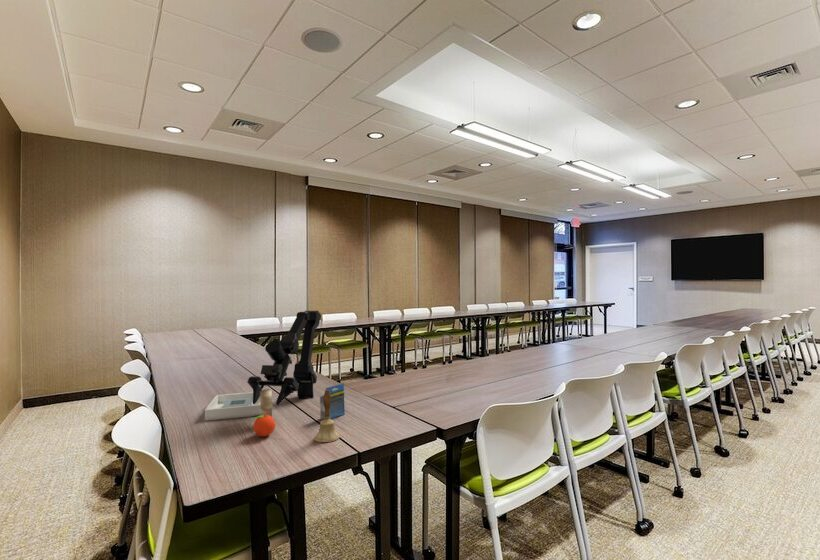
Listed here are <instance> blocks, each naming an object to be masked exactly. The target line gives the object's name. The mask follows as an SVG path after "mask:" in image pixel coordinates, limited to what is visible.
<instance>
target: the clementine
mask: <svg viewBox="0 0 820 560" xmlns="http://www.w3.org/2000/svg"><path fill="white" fill-rule="evenodd" d="M254 420H255V421H254ZM252 421H254V423H253V431H254V433H255V434H256V435H257V436H259V437H267V436H269V435H271V434H272V433H273V432H274V430H275V428H276V421H275V419H274V418H273V416H272V417H271V416H269V415H262V416H261V415H258V416H255V417H254V418H253V419H252V420H251V422H249V423H250V425H251V423H252Z"/></svg>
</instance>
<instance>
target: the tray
mask: <svg viewBox="0 0 820 560" xmlns="http://www.w3.org/2000/svg"><path fill="white" fill-rule="evenodd" d="M258 416H261V412H260V397H259V398H258V400H257V402H256V403H255V404H253V391H251V392H250V391H249V392H238V393H228V394H227V393H226V394H217V395H215V397H214V398H213V399H212V400H211V402H210V403H209V404H208V405H207V406H206V408H205V409H204V421H205V422H207V421H216V420H217V421H218V420H226V419H235V418H238V419H239V418H246V417H258Z"/></svg>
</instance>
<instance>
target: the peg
mask: <svg viewBox="0 0 820 560" xmlns="http://www.w3.org/2000/svg"><path fill="white" fill-rule="evenodd" d="M272 396H273V393H272V389H262V391H260V412H261V415H260V416H262V415H269V416H271V417H272V418H273V397H272Z"/></svg>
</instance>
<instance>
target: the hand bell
mask: <svg viewBox="0 0 820 560" xmlns="http://www.w3.org/2000/svg"><path fill="white" fill-rule="evenodd" d="M323 396H324V397H323V403H324V407H325V417H324V420H323V419H322V420H321V421H320V422H319V429H318V432H317V434H315V436H314V441H316V442H318V443H321V442H328V443H333V442H335V440H336V441H337V439H338V440H340V437H341V435H340V433H339V432H337V430H336V427H335V422H334V420H333V419H330V417H329V416H330V415H329V414H330V410H329V409H330V405H331V395H330V392H329V390H326V389H325V391H324V395H323ZM332 441H333V442H332Z"/></svg>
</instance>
